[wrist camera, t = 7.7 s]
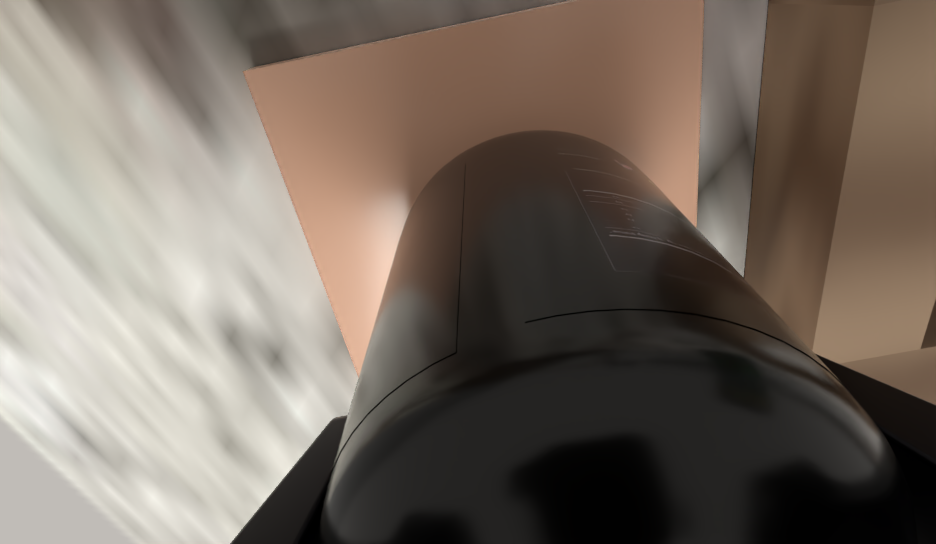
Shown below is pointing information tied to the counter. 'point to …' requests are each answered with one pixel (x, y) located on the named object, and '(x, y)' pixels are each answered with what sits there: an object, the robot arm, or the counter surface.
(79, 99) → the counter surface
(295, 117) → the terracotta coaster
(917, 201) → the walnut caddy
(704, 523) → the supplement bottle
